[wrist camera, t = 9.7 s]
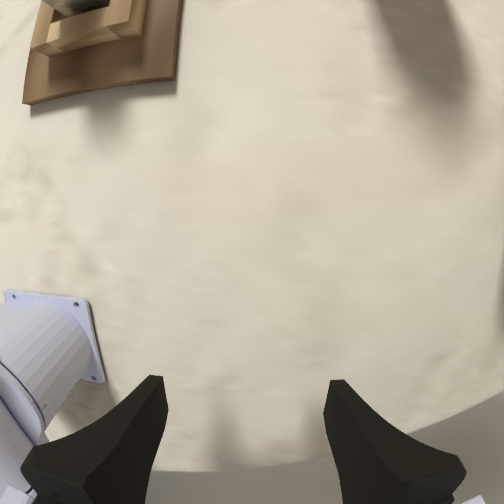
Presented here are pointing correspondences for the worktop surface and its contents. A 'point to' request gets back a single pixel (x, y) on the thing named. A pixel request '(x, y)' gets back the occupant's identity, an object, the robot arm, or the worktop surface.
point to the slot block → (102, 48)
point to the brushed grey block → (76, 6)
